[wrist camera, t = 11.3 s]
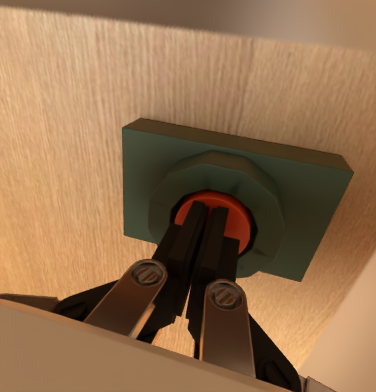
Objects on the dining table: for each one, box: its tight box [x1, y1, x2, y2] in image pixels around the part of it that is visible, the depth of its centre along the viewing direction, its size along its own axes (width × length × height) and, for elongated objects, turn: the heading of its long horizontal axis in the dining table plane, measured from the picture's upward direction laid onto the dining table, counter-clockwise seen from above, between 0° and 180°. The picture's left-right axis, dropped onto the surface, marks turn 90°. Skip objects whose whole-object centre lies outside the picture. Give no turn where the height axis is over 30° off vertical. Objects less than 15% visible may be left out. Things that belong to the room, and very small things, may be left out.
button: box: [175, 189, 252, 253], centre depth 13 cm, size 4×4×2 cm
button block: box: [122, 118, 354, 282], centre depth 14 cm, size 11×7×4 cm, turn 83°
